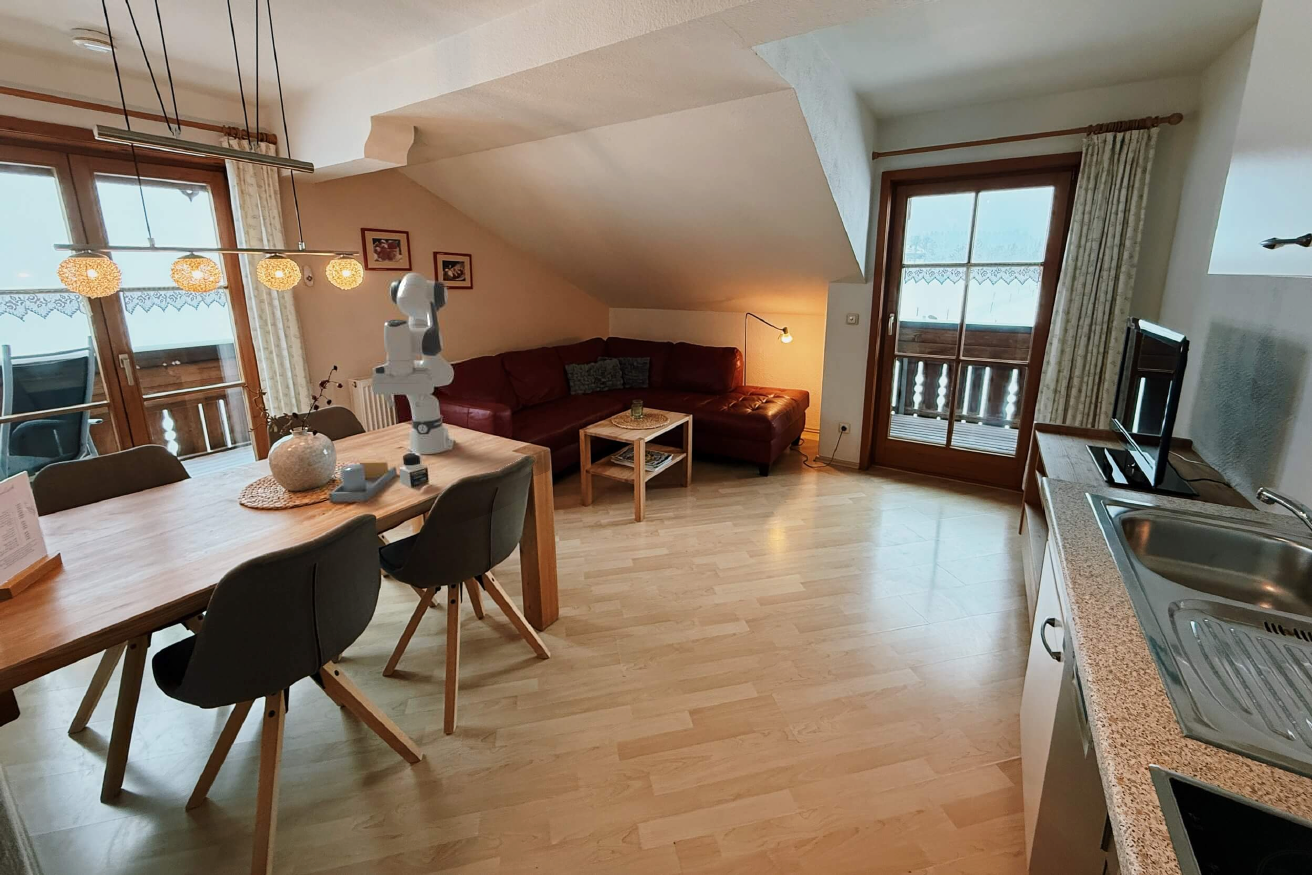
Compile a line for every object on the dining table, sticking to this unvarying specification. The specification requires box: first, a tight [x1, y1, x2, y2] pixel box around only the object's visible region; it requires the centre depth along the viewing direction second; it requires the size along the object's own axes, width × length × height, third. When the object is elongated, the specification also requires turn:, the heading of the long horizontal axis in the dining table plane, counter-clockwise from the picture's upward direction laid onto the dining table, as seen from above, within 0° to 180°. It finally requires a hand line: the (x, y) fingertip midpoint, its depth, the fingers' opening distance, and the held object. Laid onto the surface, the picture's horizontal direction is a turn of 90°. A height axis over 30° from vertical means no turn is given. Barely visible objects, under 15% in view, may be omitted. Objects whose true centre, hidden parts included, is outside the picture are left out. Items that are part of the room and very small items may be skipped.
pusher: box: [359, 461, 389, 478], centre depth 212 cm, size 1×9×6 cm, turn 93°
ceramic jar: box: [340, 464, 367, 492], centre depth 196 cm, size 7×7×10 cm
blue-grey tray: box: [328, 466, 398, 503], centre depth 204 cm, size 26×12×4 cm, turn 3°
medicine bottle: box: [398, 452, 430, 489], centre depth 208 cm, size 7×7×12 cm
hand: (405, 406), depth 203 cm, fingers open, 8 cm apart
